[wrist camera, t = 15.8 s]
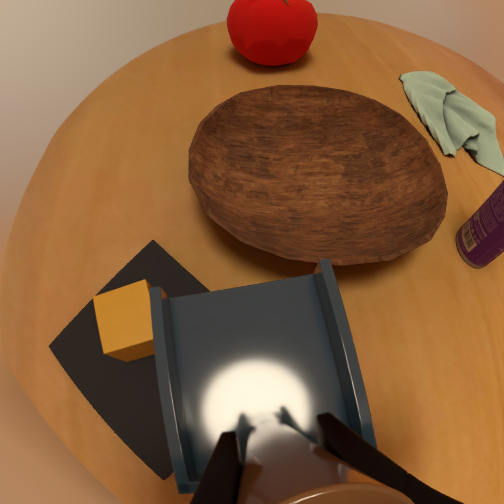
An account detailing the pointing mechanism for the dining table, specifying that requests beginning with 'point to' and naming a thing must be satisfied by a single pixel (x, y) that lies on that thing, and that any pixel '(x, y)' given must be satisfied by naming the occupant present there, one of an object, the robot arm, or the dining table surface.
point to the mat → (126, 373)
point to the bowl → (317, 175)
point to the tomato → (272, 29)
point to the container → (483, 232)
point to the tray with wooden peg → (264, 388)
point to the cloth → (454, 118)
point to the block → (125, 321)
